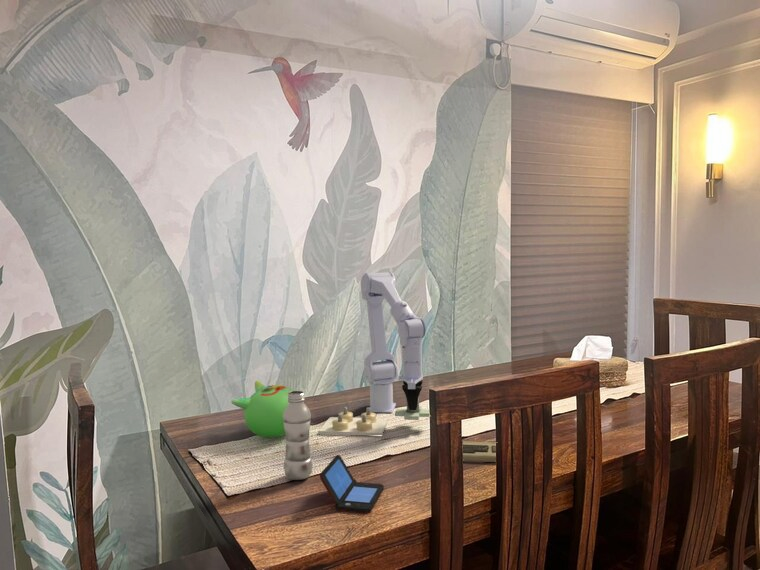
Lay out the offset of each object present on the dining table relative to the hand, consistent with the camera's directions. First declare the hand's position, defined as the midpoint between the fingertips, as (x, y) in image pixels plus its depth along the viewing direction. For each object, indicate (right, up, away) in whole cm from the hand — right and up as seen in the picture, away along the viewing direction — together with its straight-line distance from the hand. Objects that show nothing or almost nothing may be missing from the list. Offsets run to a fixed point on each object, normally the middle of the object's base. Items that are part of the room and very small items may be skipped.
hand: (412, 407), depth 165 cm
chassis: (-17, -6, +2) cm, 18 cm away
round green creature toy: (-40, -8, -2) cm, 40 cm away
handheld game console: (-15, -10, -44) cm, 47 cm away
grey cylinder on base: (0, -2, 0) cm, 2 cm away
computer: (+13, -8, -21) cm, 26 cm away
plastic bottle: (-28, -10, -32) cm, 44 cm away
